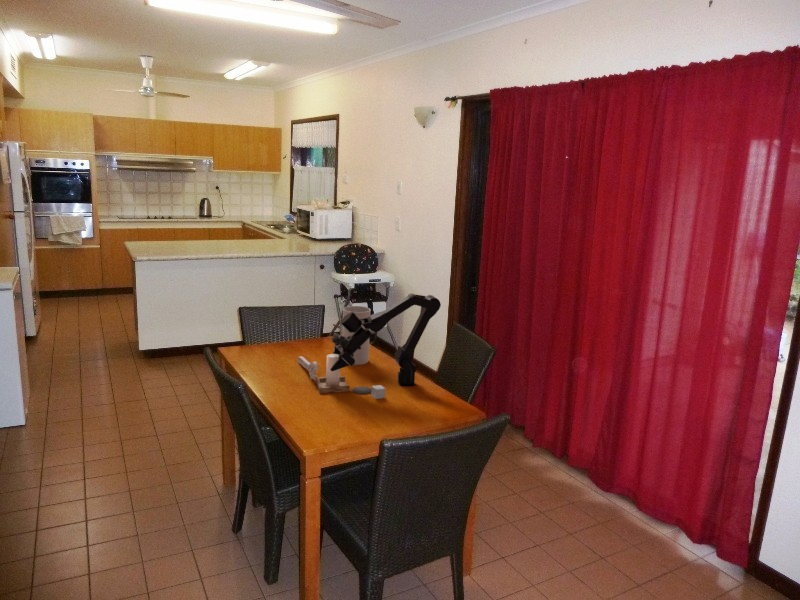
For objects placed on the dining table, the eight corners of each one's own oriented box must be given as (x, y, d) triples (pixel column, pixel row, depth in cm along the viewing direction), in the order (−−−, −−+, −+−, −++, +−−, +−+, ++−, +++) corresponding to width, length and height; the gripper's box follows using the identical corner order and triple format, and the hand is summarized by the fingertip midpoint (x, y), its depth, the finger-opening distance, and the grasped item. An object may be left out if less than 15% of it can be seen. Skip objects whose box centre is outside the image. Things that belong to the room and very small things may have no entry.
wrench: (301, 367, 264) (318, 382, 237) (298, 368, 264) (314, 382, 236) (301, 350, 264) (318, 363, 236) (297, 350, 263) (313, 363, 235)
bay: (344, 381, 243) (344, 376, 242) (349, 391, 231) (349, 386, 231) (315, 382, 239) (316, 377, 239) (319, 392, 228) (319, 387, 228)
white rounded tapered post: (341, 384, 237) (342, 355, 234) (335, 388, 232) (337, 359, 229) (329, 382, 239) (330, 353, 236) (323, 386, 233) (324, 356, 231)
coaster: (371, 387, 237) (371, 386, 237) (372, 394, 229) (372, 393, 229) (352, 387, 236) (352, 386, 236) (352, 394, 228) (352, 393, 228)
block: (380, 394, 230) (381, 384, 229) (384, 398, 227) (385, 388, 226) (371, 395, 228) (371, 386, 228) (375, 399, 225) (375, 389, 224)
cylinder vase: (373, 363, 267) (375, 310, 262) (349, 367, 260) (351, 313, 255) (359, 355, 277) (361, 305, 272) (336, 359, 270) (338, 307, 265)
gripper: (340, 320, 240) (312, 347, 239) (347, 333, 222) (318, 361, 222) (358, 338, 243) (331, 364, 243) (367, 352, 226) (338, 379, 225)
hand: (329, 367), depth 233 cm, fingers open, 8 cm apart
